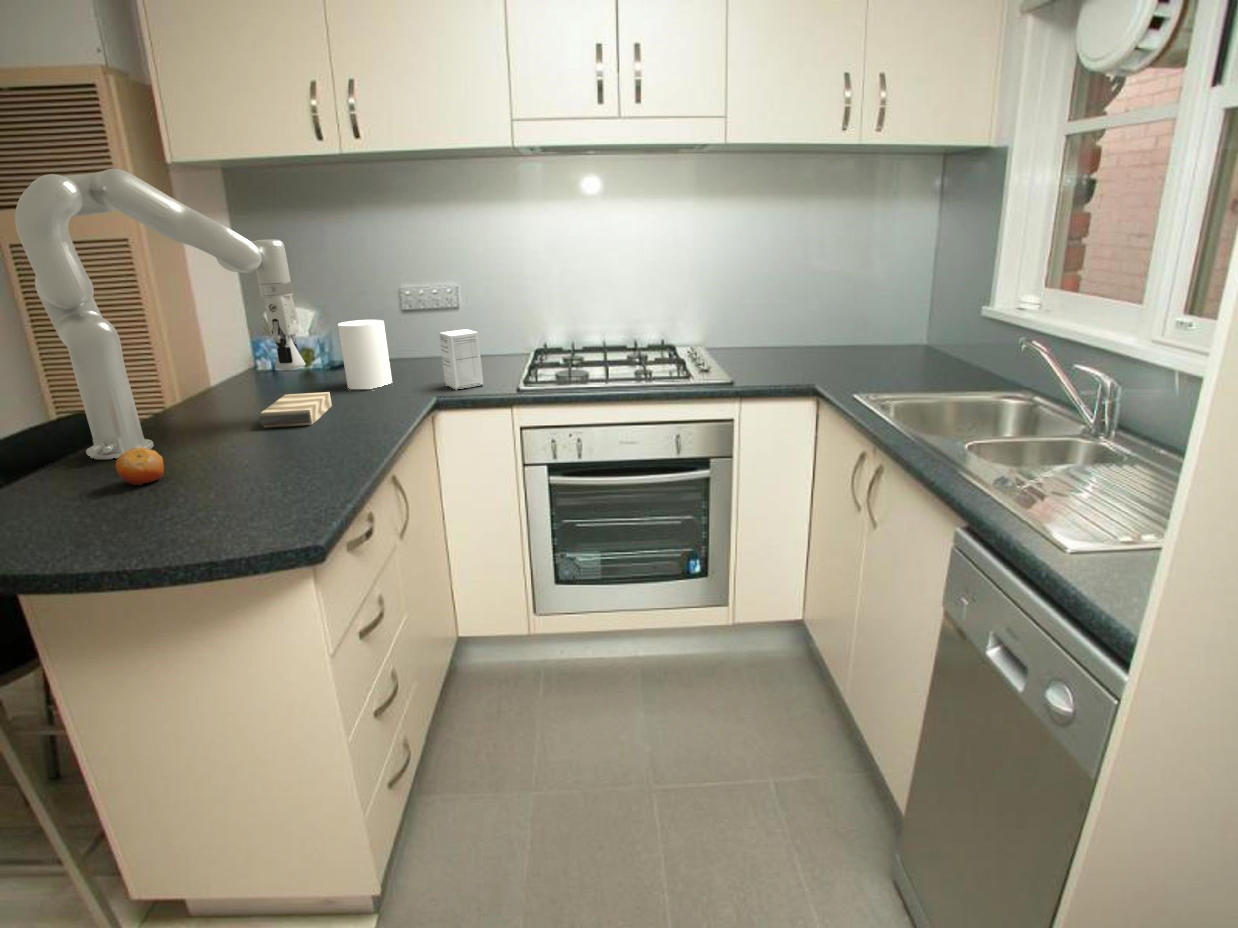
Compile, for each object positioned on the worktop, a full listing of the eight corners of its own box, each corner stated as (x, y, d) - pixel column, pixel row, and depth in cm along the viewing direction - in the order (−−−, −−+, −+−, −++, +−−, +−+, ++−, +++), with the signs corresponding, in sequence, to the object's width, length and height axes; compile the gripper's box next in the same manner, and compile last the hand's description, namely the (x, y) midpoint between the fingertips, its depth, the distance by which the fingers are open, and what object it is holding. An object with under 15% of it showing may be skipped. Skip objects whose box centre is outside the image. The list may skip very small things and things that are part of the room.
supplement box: (472, 381, 227) (467, 328, 222) (484, 386, 220) (479, 331, 214) (444, 386, 222) (438, 332, 217) (455, 391, 215) (449, 335, 209)
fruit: (153, 464, 151) (152, 437, 146) (170, 489, 148) (170, 461, 144) (109, 475, 145) (107, 447, 140) (126, 501, 142) (125, 473, 138)
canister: (346, 392, 217) (335, 327, 211) (349, 383, 230) (339, 321, 223) (392, 388, 221) (383, 324, 214) (393, 380, 233) (384, 318, 226)
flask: (294, 370, 184) (287, 331, 180) (269, 370, 185) (262, 331, 182) (311, 364, 190) (304, 327, 187) (287, 364, 192) (280, 327, 188)
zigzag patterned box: (310, 426, 182) (307, 411, 180) (261, 429, 180) (258, 414, 179) (331, 405, 202) (329, 392, 201) (287, 408, 201) (285, 394, 199)
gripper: (281, 292, 173) (294, 366, 179) (301, 286, 189) (313, 354, 195) (248, 294, 173) (263, 368, 179) (271, 288, 189) (284, 356, 195)
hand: (289, 360), depth 187 cm, fingers closed on flask, 4 cm apart
